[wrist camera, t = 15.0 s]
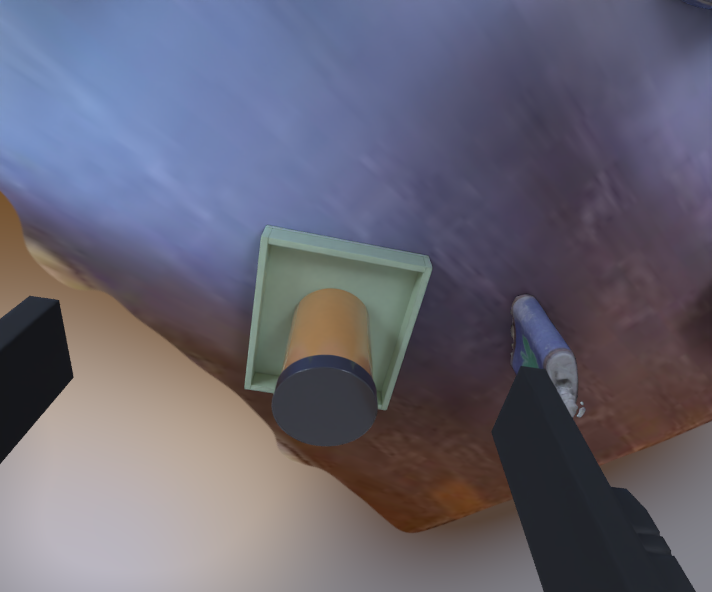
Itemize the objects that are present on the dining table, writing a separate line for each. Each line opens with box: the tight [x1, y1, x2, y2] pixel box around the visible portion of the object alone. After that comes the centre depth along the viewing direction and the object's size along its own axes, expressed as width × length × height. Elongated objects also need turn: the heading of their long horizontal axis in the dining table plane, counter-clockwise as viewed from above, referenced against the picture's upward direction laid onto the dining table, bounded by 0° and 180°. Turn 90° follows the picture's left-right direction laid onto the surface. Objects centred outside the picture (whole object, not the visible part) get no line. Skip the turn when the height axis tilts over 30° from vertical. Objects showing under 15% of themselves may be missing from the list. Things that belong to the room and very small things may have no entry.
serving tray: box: [244, 225, 433, 410], centre depth 41 cm, size 14×16×2 cm
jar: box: [272, 288, 378, 446], centre depth 37 cm, size 8×8×12 cm
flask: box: [510, 294, 585, 418], centre depth 39 cm, size 9×3×11 cm, turn 9°
